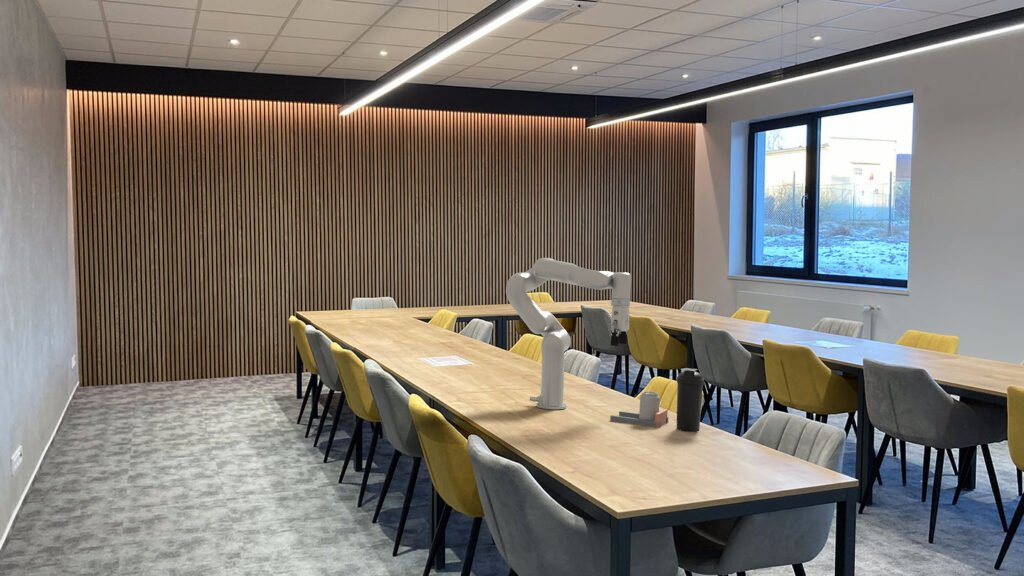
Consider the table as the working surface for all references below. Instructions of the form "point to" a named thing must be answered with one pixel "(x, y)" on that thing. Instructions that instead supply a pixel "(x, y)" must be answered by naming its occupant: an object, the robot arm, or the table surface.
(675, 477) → the table surface
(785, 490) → the table surface
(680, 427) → the water bottle
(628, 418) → the channel
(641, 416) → the can
